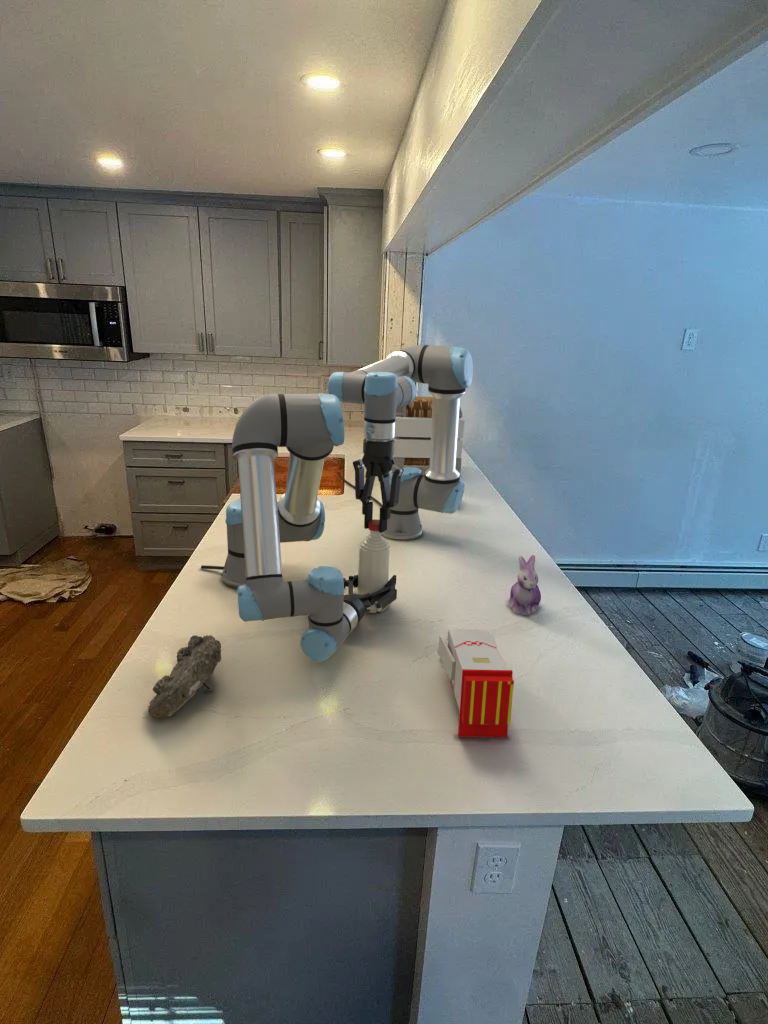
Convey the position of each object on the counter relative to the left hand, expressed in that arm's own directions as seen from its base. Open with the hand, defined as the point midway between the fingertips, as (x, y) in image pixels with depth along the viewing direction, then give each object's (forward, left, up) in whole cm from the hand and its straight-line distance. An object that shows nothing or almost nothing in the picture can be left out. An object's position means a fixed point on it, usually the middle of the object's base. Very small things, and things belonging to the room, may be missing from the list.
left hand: (379, 576), depth 153 cm
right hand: (0, -5, +16) cm, 16 cm away
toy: (+32, -30, -6) cm, 45 cm away
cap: (0, -5, +17) cm, 18 cm away
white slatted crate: (-28, +125, -6) cm, 128 cm away
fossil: (-20, -52, -6) cm, 57 cm away
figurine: (+38, +12, -6) cm, 40 cm away
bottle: (0, -5, -6) cm, 8 cm away
